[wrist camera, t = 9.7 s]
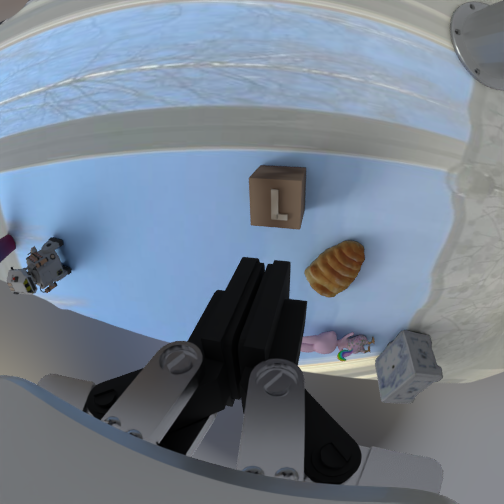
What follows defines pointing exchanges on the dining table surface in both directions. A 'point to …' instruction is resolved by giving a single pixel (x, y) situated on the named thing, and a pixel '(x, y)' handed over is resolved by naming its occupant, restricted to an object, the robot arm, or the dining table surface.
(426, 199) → the dining table surface
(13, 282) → the figurine
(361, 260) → the pastry
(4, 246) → the cup
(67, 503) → the robot arm
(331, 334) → the rabbit figure
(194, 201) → the dining table surface
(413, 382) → the incense holder
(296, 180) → the lettered block
